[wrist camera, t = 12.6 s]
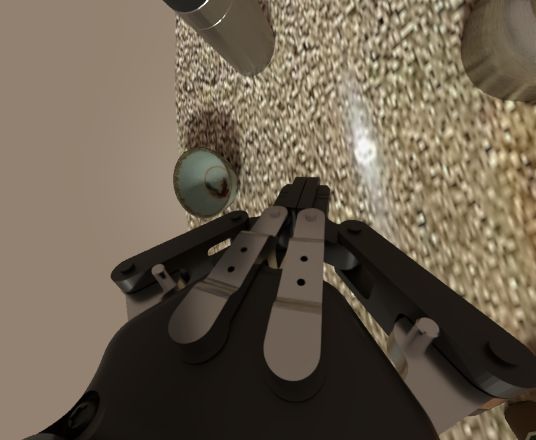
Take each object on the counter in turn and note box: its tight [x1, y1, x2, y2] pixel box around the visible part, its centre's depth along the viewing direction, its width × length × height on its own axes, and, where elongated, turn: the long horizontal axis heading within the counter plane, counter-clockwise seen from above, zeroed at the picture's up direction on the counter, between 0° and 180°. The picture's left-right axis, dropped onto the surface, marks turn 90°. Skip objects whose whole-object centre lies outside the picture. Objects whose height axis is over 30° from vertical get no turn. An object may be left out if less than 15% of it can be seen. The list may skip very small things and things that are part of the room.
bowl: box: [173, 147, 238, 219], centre depth 43 cm, size 14×13×8 cm
